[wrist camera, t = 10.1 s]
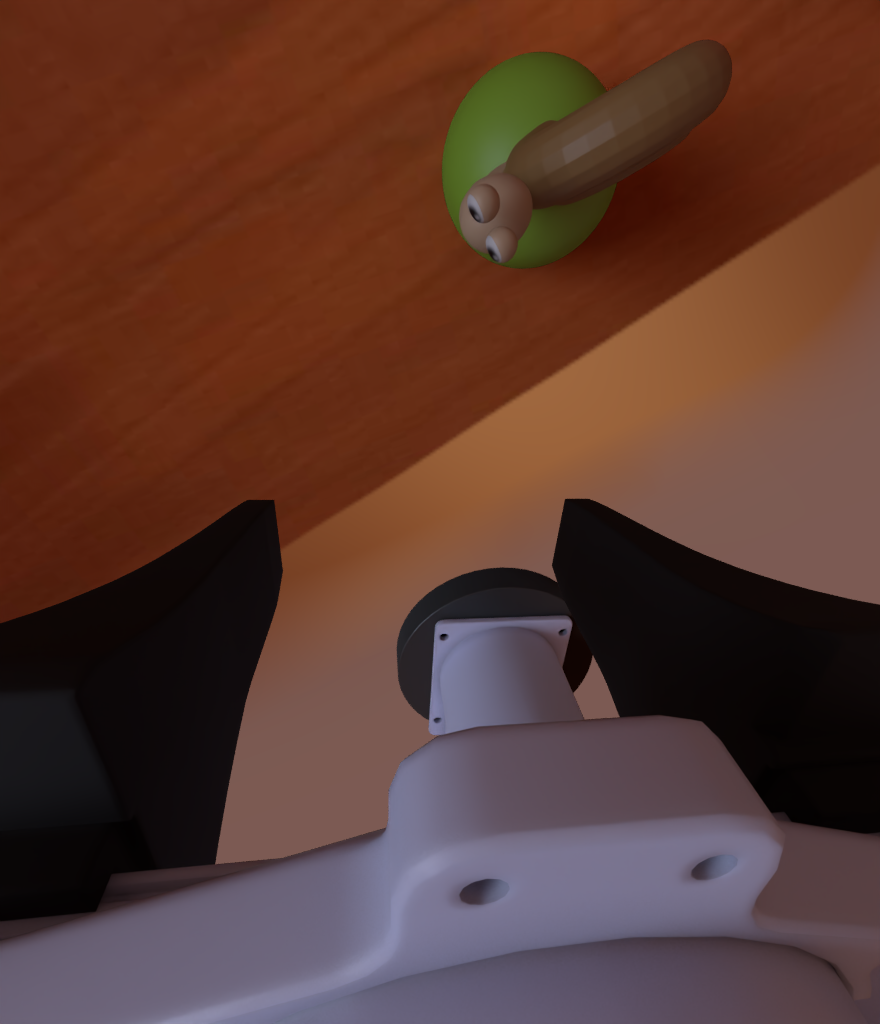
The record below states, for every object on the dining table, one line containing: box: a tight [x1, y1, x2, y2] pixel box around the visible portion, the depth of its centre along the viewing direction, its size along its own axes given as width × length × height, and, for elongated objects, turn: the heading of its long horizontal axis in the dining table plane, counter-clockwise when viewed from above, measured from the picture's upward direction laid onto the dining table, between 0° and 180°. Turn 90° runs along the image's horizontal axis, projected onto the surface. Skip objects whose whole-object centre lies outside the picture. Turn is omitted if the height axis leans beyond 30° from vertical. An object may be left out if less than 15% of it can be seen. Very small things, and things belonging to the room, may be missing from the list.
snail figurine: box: [442, 40, 732, 269], centre depth 12 cm, size 5×6×12 cm
